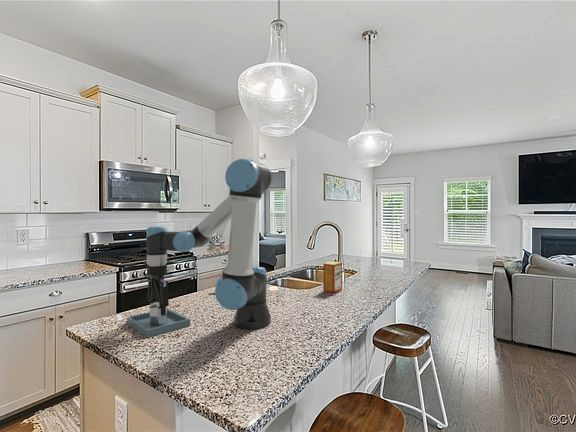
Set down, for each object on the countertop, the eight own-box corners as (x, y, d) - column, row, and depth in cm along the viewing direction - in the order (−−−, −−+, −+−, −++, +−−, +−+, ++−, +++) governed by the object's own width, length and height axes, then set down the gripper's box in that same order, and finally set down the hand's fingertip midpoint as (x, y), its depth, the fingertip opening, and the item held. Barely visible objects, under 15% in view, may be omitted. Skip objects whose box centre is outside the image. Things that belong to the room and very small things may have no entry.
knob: (169, 322, 132) (169, 305, 131) (153, 327, 127) (153, 308, 127) (162, 319, 136) (162, 302, 136) (147, 323, 131) (146, 305, 131)
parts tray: (190, 325, 130) (190, 319, 130) (147, 337, 118) (147, 330, 118) (166, 313, 145) (166, 307, 145) (126, 323, 133) (126, 317, 133)
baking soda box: (332, 287, 189) (332, 260, 189) (342, 289, 185) (342, 261, 185) (323, 291, 182) (323, 263, 181) (333, 293, 178) (333, 264, 177)
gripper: (177, 266, 127) (178, 324, 127) (155, 260, 141) (156, 313, 141) (158, 269, 121) (159, 329, 122) (138, 262, 135) (139, 317, 136)
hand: (158, 320), depth 131 cm, fingers open, 7 cm apart
